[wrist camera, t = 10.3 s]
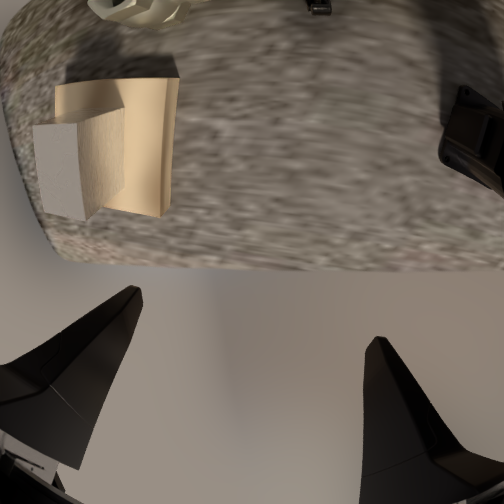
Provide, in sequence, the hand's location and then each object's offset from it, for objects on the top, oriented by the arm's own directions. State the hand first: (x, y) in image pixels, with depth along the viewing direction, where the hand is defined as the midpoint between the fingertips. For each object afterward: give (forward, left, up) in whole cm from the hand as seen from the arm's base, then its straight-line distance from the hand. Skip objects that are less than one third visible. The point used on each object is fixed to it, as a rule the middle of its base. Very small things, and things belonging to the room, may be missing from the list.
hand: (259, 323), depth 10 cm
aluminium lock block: (+13, -2, -10) cm, 16 cm away
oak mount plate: (+13, -2, -12) cm, 18 cm away
